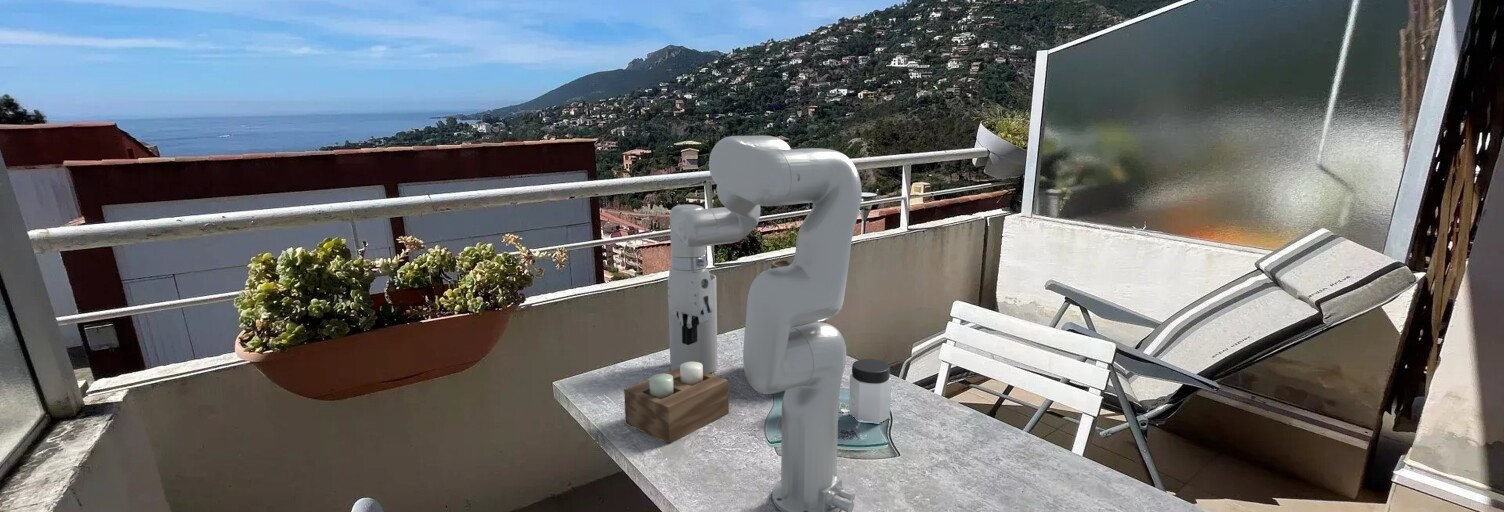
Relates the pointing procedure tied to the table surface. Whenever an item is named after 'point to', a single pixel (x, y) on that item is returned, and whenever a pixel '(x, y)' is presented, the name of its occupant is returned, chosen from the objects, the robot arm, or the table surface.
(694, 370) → the ivory button
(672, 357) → the cylinder vase
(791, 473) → the robot arm
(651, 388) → the sage button
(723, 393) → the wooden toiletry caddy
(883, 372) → the jar
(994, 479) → the table surface
